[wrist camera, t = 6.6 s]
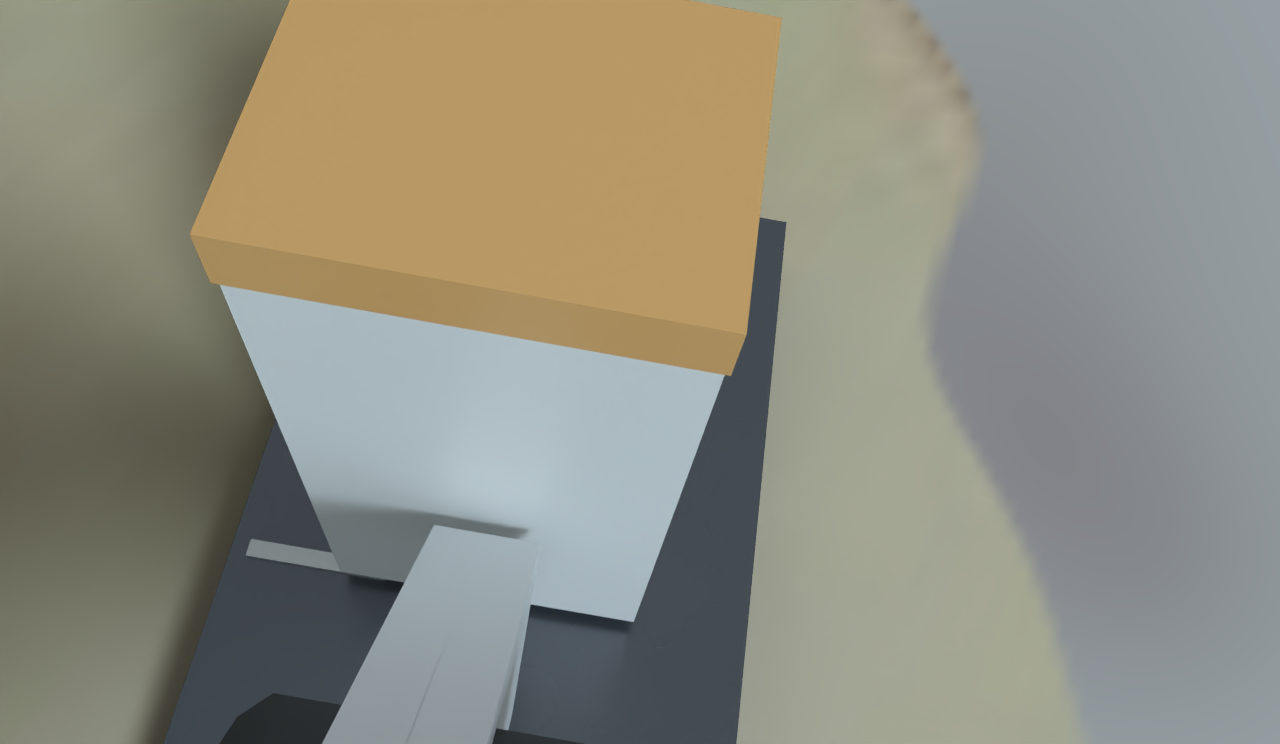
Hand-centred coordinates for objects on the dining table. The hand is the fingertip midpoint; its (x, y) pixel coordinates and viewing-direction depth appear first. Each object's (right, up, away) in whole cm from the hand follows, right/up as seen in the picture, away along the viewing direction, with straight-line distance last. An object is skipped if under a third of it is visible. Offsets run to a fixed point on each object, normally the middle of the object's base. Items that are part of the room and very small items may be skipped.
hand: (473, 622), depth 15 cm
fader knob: (0, +1, +4) cm, 4 cm away
